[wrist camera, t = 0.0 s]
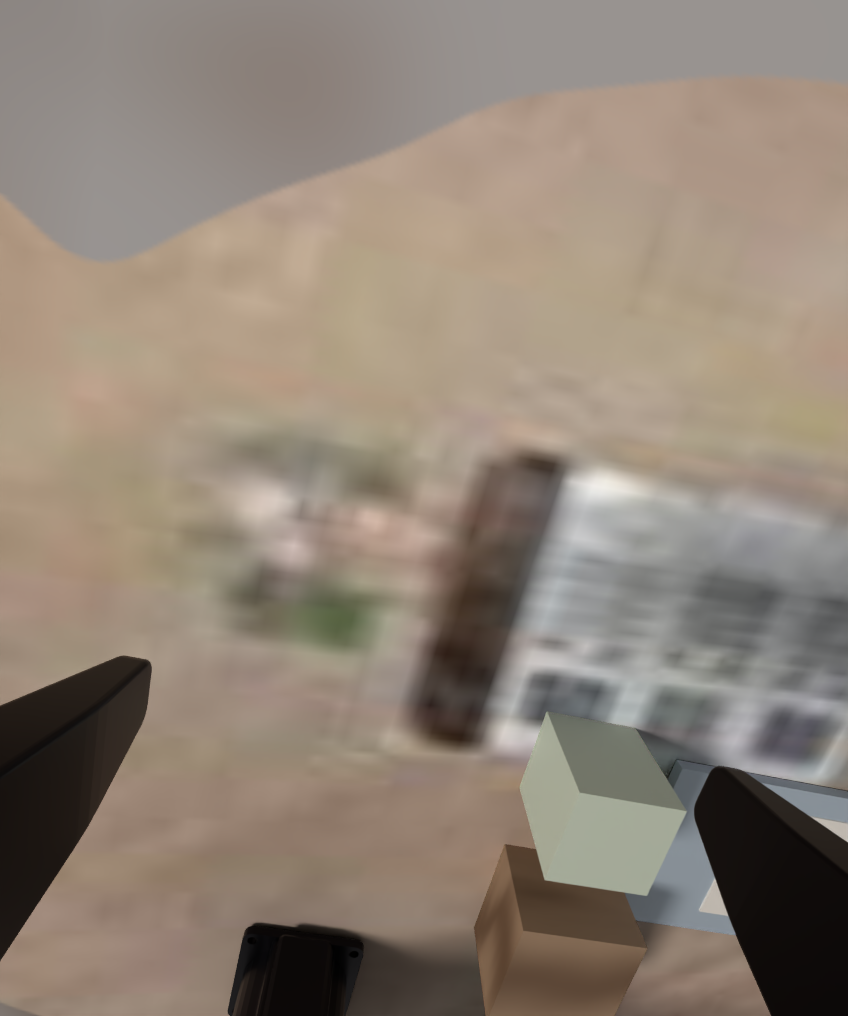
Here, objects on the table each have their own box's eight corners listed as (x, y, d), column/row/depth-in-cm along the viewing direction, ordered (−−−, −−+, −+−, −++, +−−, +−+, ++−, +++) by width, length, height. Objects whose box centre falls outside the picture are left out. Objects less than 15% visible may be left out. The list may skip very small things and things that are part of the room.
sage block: (604, 800, 27) (646, 895, 23) (519, 786, 27) (544, 880, 22) (634, 727, 26) (687, 811, 21) (546, 710, 26) (579, 792, 21)
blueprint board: (804, 935, 31) (813, 948, 30) (610, 906, 29) (615, 919, 29) (886, 798, 28) (898, 809, 27) (676, 759, 27) (683, 769, 26)
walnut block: (574, 939, 30) (603, 1036, 26) (473, 924, 30) (486, 1022, 25) (610, 858, 29) (647, 948, 24) (504, 841, 28) (523, 930, 24)
